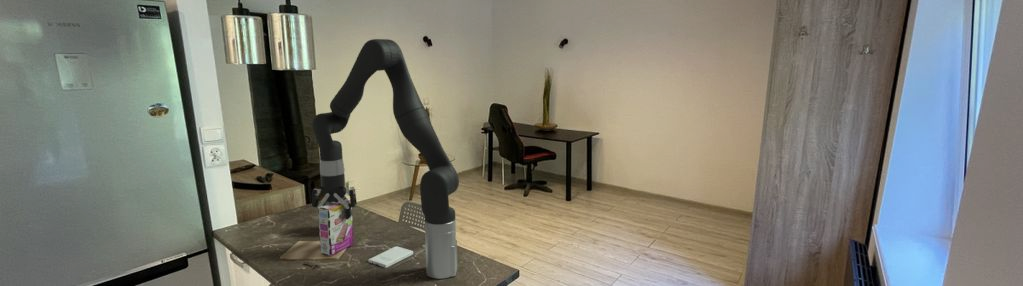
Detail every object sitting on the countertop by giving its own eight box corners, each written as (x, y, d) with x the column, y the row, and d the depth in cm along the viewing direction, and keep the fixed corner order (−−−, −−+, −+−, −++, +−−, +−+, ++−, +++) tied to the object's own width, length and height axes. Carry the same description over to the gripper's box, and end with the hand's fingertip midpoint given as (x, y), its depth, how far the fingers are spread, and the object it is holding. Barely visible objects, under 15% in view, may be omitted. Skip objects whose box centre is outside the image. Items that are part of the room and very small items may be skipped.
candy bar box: (331, 257, 156) (328, 209, 153) (320, 254, 158) (316, 207, 155) (355, 244, 166) (352, 199, 163) (343, 242, 168) (341, 198, 165)
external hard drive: (413, 255, 160) (386, 269, 150) (395, 250, 164) (368, 263, 154) (413, 251, 160) (385, 264, 149) (395, 245, 164) (367, 258, 154)
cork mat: (351, 242, 169) (351, 241, 169) (337, 259, 155) (337, 257, 155) (298, 242, 169) (298, 241, 169) (279, 259, 155) (279, 257, 155)
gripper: (306, 175, 154) (309, 222, 156) (349, 175, 154) (352, 222, 157) (315, 169, 161) (318, 215, 164) (357, 169, 161) (359, 215, 164)
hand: (335, 218), depth 160 cm, fingers open, 8 cm apart
